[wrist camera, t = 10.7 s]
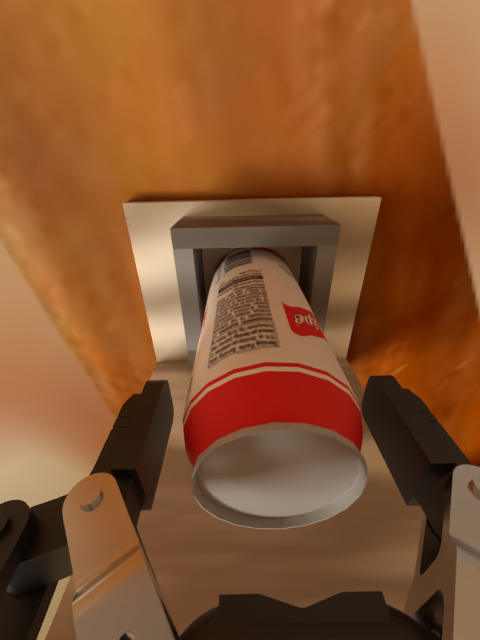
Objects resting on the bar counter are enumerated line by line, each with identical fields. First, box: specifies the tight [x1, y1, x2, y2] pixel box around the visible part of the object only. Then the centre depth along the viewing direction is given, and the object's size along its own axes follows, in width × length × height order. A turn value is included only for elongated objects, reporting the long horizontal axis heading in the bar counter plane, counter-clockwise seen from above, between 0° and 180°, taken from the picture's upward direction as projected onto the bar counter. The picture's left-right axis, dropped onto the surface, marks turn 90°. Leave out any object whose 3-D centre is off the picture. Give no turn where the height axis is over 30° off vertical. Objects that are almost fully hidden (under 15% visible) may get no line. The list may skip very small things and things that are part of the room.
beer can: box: [183, 247, 368, 529], centre depth 15 cm, size 6×6×16 cm
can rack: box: [45, 196, 425, 640], centre depth 14 cm, size 16×18×21 cm
